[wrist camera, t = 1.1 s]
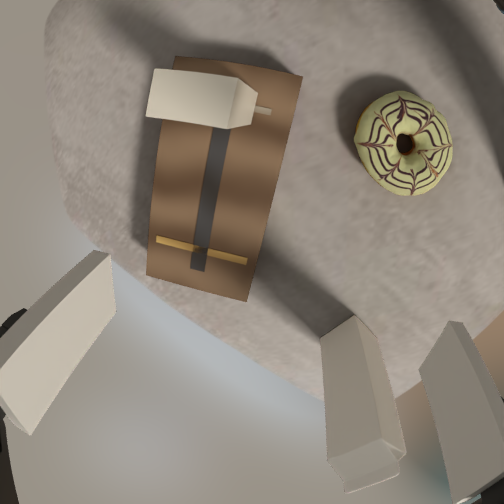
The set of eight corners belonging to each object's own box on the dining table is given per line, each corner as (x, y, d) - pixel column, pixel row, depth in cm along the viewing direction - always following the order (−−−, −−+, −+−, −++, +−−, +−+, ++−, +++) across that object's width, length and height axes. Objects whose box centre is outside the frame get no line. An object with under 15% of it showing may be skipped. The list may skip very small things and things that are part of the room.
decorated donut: (389, 74, 26) (401, 69, 22) (455, 141, 27) (472, 145, 24) (333, 144, 30) (338, 147, 26) (403, 206, 31) (415, 217, 28)
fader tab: (204, 84, 25) (154, 68, 15) (258, 93, 24) (238, 78, 15) (197, 114, 26) (145, 116, 16) (250, 124, 26) (226, 129, 16)
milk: (319, 337, 40) (324, 488, 20) (355, 313, 38) (385, 467, 18) (344, 360, 41) (358, 499, 22) (378, 338, 39) (411, 479, 19)
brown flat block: (188, 62, 27) (174, 56, 24) (301, 81, 27) (303, 76, 23) (158, 259, 38) (145, 275, 34) (250, 283, 38) (246, 302, 34)
